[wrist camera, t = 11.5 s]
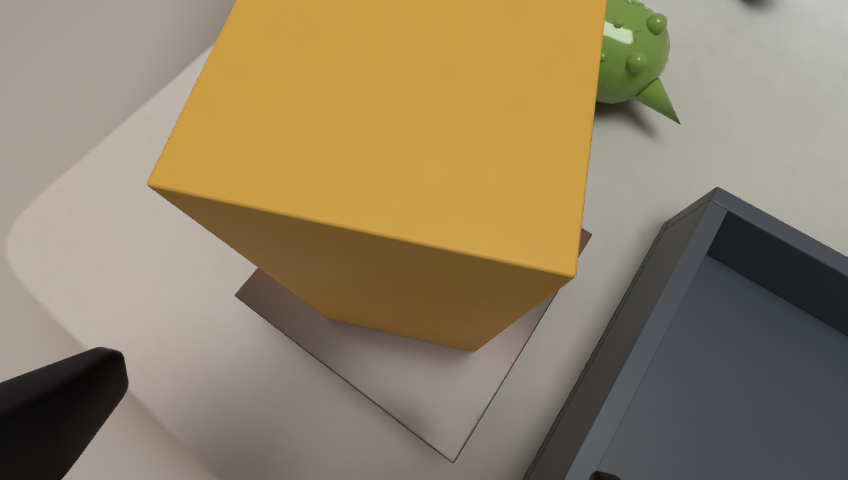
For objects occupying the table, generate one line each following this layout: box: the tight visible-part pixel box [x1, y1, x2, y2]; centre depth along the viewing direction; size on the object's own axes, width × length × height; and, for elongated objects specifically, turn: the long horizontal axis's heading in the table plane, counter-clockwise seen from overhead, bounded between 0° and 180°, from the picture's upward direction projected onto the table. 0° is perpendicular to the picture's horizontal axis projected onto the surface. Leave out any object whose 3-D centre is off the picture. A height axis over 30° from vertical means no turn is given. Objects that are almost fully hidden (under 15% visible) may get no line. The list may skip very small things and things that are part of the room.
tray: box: [523, 187, 848, 480], centre depth 16 cm, size 16×16×4 cm
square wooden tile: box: [235, 228, 592, 463], centre depth 18 cm, size 10×10×4 cm
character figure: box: [596, 0, 681, 125], centre depth 22 cm, size 12×5×12 cm
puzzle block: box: [147, 0, 607, 352], centre depth 11 cm, size 6×6×11 cm
